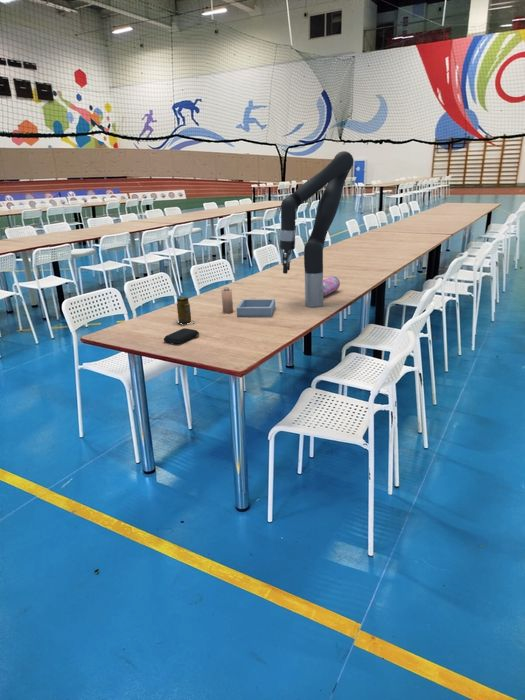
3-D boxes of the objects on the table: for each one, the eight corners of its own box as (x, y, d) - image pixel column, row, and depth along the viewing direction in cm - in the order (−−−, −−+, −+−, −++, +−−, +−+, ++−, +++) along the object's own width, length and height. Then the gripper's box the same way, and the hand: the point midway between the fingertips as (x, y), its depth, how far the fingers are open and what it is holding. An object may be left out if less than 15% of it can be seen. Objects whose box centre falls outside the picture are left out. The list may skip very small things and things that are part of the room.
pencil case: (322, 300, 256) (322, 283, 252) (307, 298, 261) (307, 282, 258) (341, 291, 271) (341, 275, 268) (327, 289, 277) (327, 274, 273)
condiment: (189, 319, 234) (186, 295, 230) (195, 323, 227) (193, 298, 223) (175, 321, 231) (172, 297, 227) (181, 326, 224) (178, 301, 220)
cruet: (234, 310, 245) (232, 286, 241) (232, 313, 240) (230, 288, 236) (224, 310, 246) (222, 286, 241) (221, 313, 241) (220, 288, 237)
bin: (275, 307, 246) (275, 299, 244) (271, 317, 231) (271, 308, 230) (243, 307, 249) (242, 299, 247) (237, 316, 234) (236, 308, 232)
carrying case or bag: (180, 347, 199) (203, 336, 210) (179, 340, 198) (202, 329, 209) (161, 343, 204) (184, 333, 216) (161, 336, 203) (184, 326, 215)
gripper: (293, 241, 230) (291, 275, 236) (296, 237, 243) (295, 269, 249) (278, 241, 231) (276, 274, 237) (282, 237, 244) (281, 268, 250)
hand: (286, 271), depth 243 cm, fingers open, 8 cm apart
